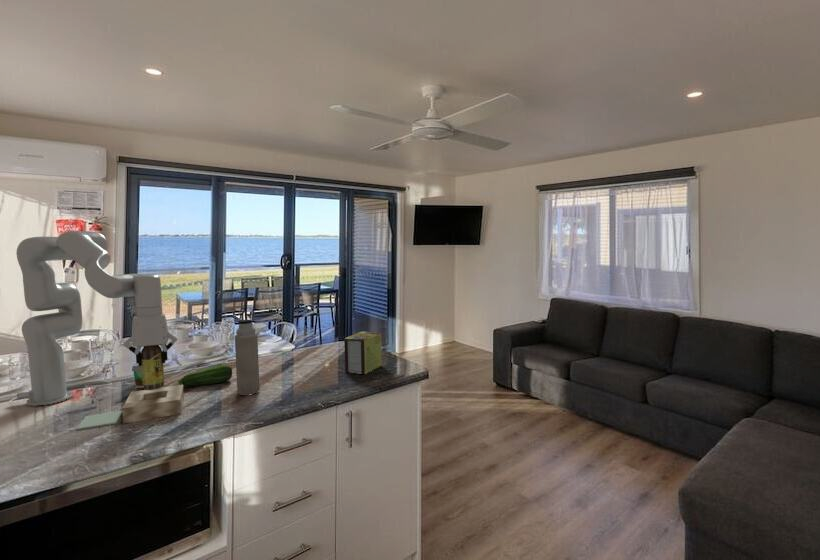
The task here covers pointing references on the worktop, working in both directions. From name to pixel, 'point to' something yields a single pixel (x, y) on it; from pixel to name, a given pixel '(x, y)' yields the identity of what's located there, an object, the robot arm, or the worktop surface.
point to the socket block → (153, 403)
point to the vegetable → (207, 376)
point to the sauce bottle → (152, 367)
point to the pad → (100, 420)
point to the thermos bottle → (247, 358)
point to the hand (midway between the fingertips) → (152, 363)
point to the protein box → (362, 352)
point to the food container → (138, 377)
